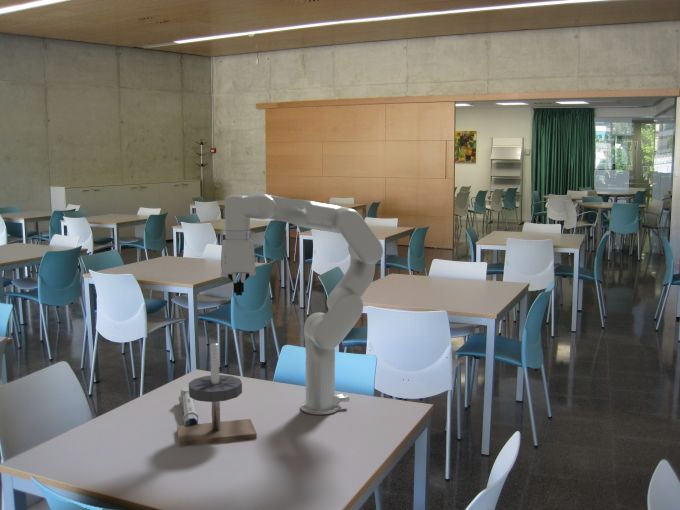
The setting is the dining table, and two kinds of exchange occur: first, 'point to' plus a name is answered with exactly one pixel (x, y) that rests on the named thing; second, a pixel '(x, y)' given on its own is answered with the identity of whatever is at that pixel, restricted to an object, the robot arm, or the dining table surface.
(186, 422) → the white cylindrical tool
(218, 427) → the steel pipe
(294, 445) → the dining table surface
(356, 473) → the dining table surface
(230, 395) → the grey faceted washer
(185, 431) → the pipe stand base
